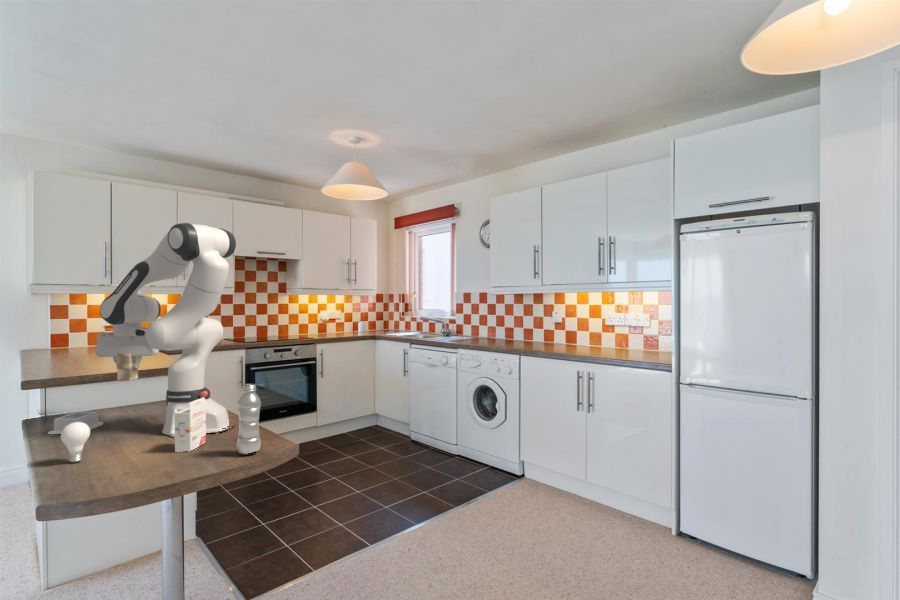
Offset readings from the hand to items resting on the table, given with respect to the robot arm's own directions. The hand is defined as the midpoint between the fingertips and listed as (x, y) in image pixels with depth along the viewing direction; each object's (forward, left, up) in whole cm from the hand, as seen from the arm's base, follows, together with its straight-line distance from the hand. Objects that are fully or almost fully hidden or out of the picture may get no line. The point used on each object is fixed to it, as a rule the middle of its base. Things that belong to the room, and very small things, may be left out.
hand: (127, 368), depth 170 cm
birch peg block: (0, 0, -4) cm, 4 cm away
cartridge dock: (+11, +10, -20) cm, 25 cm away
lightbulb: (-11, +47, -20) cm, 52 cm away
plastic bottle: (-56, +46, -20) cm, 75 cm away
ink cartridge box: (-37, +38, -20) cm, 56 cm away
